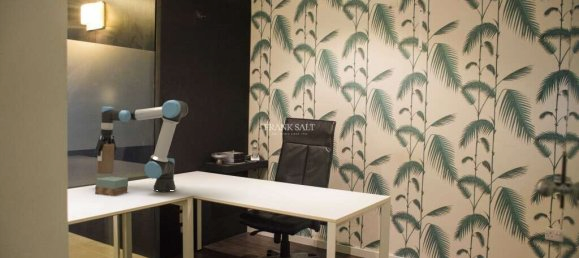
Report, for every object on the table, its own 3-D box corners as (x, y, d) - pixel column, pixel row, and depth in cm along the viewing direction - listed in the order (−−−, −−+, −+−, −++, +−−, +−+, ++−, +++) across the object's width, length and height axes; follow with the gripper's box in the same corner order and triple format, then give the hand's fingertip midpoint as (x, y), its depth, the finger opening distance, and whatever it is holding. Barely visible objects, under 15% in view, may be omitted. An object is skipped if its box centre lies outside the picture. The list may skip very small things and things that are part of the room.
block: (112, 173, 293) (113, 144, 293) (96, 173, 290) (97, 144, 289) (113, 171, 303) (114, 143, 302) (97, 171, 299) (98, 143, 299)
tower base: (127, 193, 288) (127, 185, 288) (114, 196, 274) (114, 188, 274) (108, 191, 290) (108, 183, 290) (95, 194, 277) (95, 186, 277)
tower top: (127, 185, 287) (128, 178, 287) (114, 188, 274) (114, 181, 274) (109, 183, 291) (110, 176, 291) (95, 186, 277) (96, 178, 277)
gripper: (112, 128, 308) (111, 157, 309) (90, 129, 284) (89, 161, 285) (122, 129, 307) (121, 158, 308) (100, 129, 283) (99, 161, 283)
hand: (105, 159), depth 296 cm, fingers closed on block, 13 cm apart
